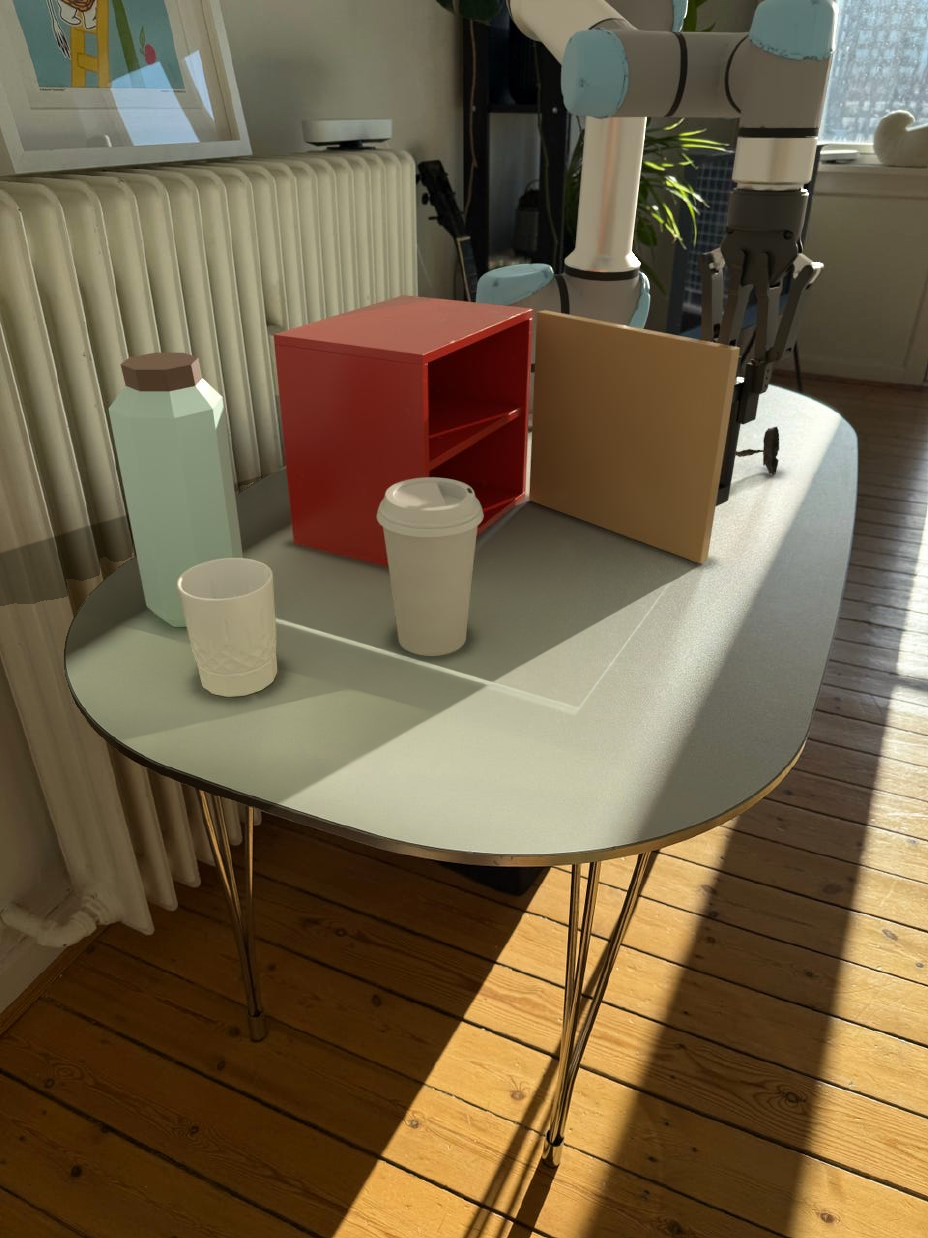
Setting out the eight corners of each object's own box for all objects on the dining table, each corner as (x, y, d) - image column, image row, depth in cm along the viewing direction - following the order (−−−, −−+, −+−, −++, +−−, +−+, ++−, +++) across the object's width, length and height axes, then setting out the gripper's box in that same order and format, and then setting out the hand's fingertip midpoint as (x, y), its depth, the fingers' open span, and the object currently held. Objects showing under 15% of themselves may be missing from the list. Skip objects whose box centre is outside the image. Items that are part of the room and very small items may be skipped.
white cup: (176, 677, 81) (158, 578, 76) (249, 644, 86) (237, 549, 81) (227, 713, 76) (211, 609, 71) (301, 675, 81) (291, 576, 76)
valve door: (570, 483, 122) (582, 302, 111) (740, 542, 106) (775, 336, 94) (528, 500, 117) (536, 311, 105) (700, 564, 101) (732, 349, 89)
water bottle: (143, 595, 94) (96, 353, 82) (238, 578, 98) (207, 343, 85) (154, 640, 86) (104, 380, 74) (258, 620, 90) (227, 368, 77)
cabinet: (525, 498, 118) (533, 308, 106) (426, 577, 98) (422, 354, 86) (408, 474, 125) (403, 294, 113) (293, 544, 105) (273, 334, 93)
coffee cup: (471, 670, 82) (472, 518, 74) (370, 659, 84) (361, 509, 76) (489, 619, 90) (492, 478, 83) (397, 610, 92) (392, 470, 84)
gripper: (860, 187, 87) (814, 425, 99) (720, 180, 96) (693, 399, 108) (827, 192, 82) (783, 441, 94) (683, 184, 91) (658, 412, 103)
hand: (735, 418), depth 101 cm, fingers closed on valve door, 2 cm apart
